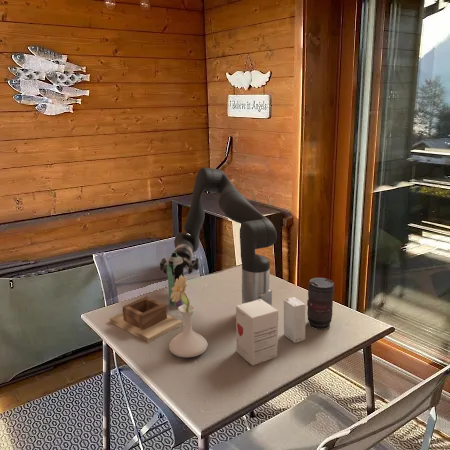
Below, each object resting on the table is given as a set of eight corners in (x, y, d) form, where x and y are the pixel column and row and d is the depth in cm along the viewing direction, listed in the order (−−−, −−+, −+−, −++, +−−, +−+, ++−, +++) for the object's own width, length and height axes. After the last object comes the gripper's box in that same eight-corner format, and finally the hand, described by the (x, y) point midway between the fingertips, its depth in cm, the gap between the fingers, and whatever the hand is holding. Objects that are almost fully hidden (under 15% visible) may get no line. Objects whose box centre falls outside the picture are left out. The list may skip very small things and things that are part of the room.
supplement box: (235, 351, 138) (234, 304, 134) (260, 343, 142) (261, 297, 138) (251, 366, 130) (252, 317, 126) (278, 357, 135) (279, 310, 130)
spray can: (183, 308, 165) (181, 255, 159) (168, 308, 165) (165, 255, 159) (185, 301, 170) (183, 249, 164) (170, 301, 170) (167, 249, 164)
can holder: (182, 325, 153) (181, 307, 151) (148, 342, 143) (147, 323, 141) (142, 307, 166) (141, 290, 164) (109, 322, 156) (108, 304, 154)
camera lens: (317, 333, 147) (319, 289, 143) (301, 322, 154) (303, 280, 150) (337, 326, 151) (340, 283, 147) (320, 316, 158) (323, 275, 154)
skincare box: (305, 340, 144) (307, 304, 140) (293, 343, 142) (294, 307, 138) (294, 331, 149) (295, 296, 145) (282, 334, 147) (283, 299, 144)
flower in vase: (171, 340, 144) (168, 264, 137) (208, 340, 144) (207, 264, 137) (165, 364, 132) (160, 282, 125) (205, 364, 131) (203, 282, 124)
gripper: (163, 247, 183) (157, 261, 168) (200, 246, 183) (196, 261, 167) (164, 265, 185) (158, 281, 170) (200, 264, 185) (197, 281, 170)
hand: (177, 271), depth 169 cm, fingers open, 8 cm apart
